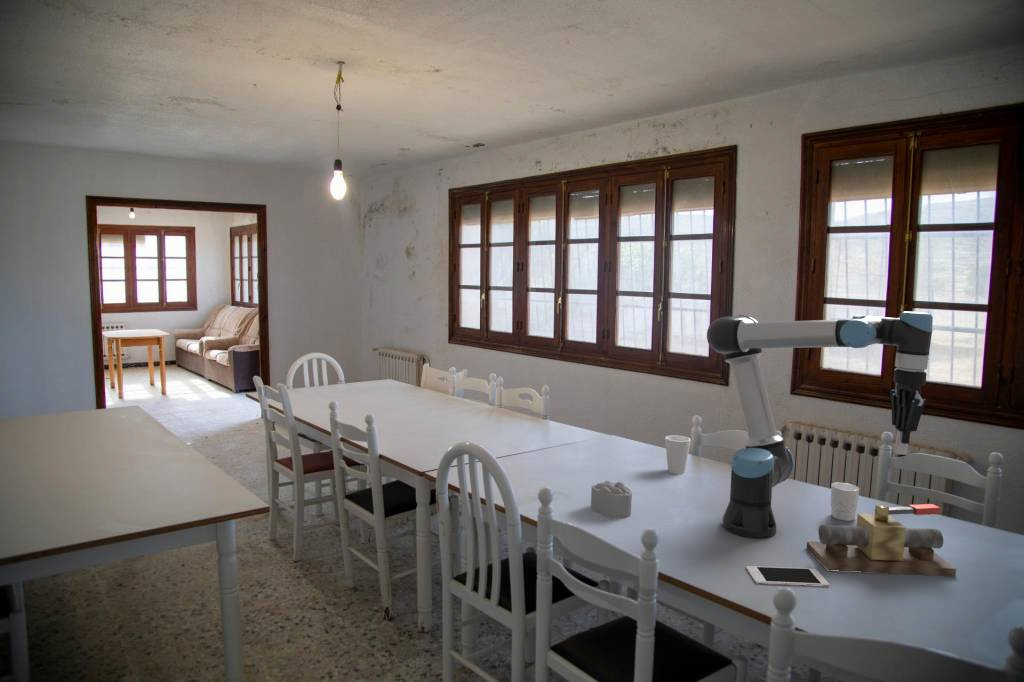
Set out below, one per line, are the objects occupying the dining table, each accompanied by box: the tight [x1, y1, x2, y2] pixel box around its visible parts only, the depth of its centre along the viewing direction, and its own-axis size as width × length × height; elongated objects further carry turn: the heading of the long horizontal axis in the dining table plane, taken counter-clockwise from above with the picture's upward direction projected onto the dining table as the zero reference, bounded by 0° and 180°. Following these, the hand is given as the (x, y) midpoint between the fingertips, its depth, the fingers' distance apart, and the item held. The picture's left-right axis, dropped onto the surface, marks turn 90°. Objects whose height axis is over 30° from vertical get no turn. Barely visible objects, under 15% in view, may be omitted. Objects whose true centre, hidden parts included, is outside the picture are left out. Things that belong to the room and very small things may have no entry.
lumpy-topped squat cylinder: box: [590, 480, 633, 519], centre depth 208 cm, size 10×13×9 cm
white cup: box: [830, 481, 860, 522], centre depth 206 cm, size 8×8×10 cm
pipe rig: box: [806, 513, 957, 577], centre depth 174 cm, size 32×14×12 cm, turn 87°
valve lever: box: [874, 503, 941, 522], centre depth 174 cm, size 3×18×3 cm, turn 98°
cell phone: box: [745, 565, 830, 587], centre depth 165 cm, size 9×18×1 cm, turn 87°
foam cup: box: [664, 434, 692, 475], centre depth 249 cm, size 10×9×13 cm
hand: (900, 453), depth 179 cm, fingers closed
